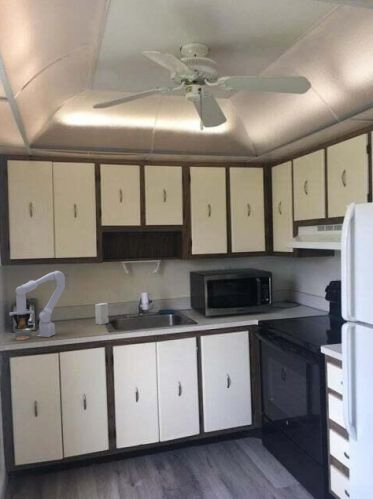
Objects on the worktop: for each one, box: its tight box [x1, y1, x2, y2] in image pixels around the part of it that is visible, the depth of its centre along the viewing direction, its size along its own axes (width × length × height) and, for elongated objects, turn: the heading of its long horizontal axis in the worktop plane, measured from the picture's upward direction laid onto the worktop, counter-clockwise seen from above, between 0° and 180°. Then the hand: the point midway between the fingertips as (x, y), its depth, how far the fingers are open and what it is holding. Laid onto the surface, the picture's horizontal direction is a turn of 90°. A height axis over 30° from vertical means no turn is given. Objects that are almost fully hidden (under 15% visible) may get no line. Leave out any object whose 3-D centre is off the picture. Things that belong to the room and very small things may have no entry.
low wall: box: [14, 330, 32, 338], centre depth 271 cm, size 10×1×3 cm, turn 108°
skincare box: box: [94, 302, 109, 325], centre depth 303 cm, size 8×6×15 cm
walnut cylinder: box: [17, 317, 27, 330], centre depth 265 cm, size 5×5×6 cm
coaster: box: [15, 335, 30, 341], centre depth 265 cm, size 8×8×1 cm
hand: (22, 325), depth 265 cm, fingers closed on walnut cylinder, 5 cm apart
